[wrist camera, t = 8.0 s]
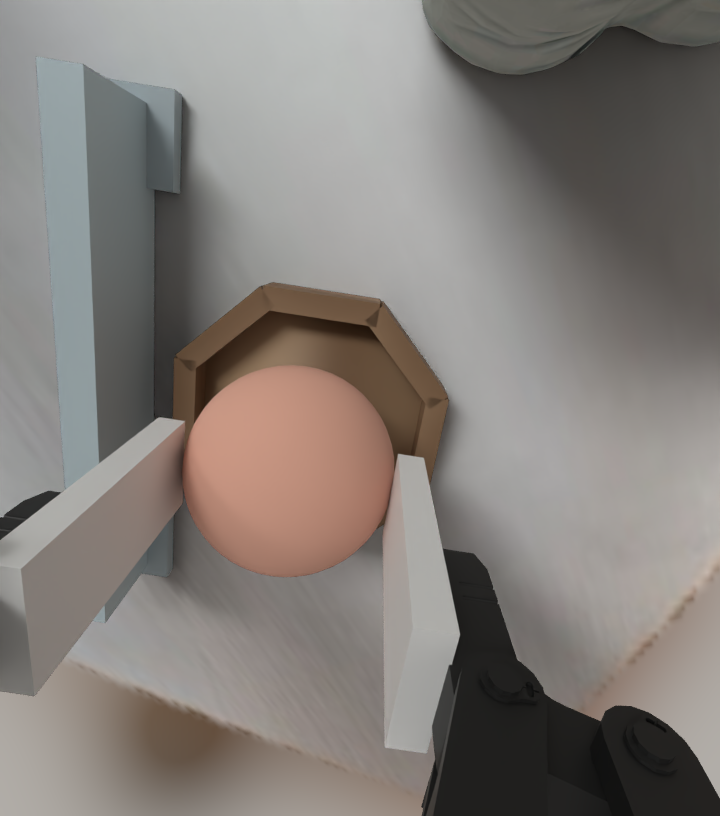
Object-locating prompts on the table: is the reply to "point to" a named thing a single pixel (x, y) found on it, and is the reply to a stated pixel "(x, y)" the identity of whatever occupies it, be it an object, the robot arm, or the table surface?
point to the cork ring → (319, 359)
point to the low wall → (105, 262)
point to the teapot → (560, 27)
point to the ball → (288, 471)
